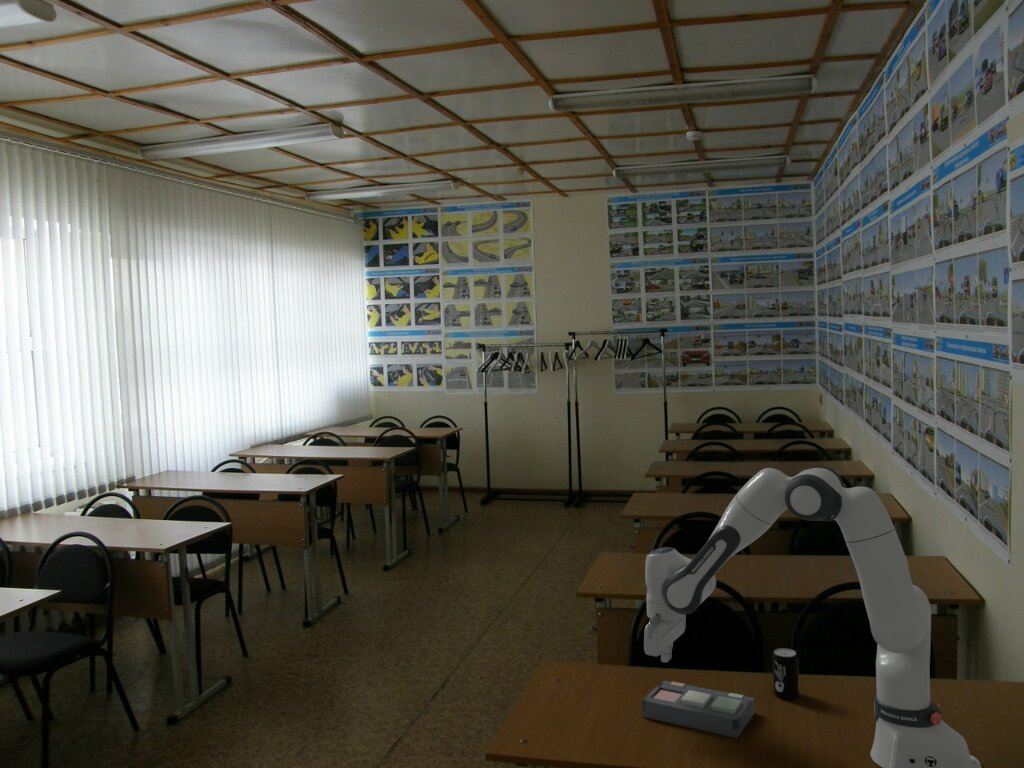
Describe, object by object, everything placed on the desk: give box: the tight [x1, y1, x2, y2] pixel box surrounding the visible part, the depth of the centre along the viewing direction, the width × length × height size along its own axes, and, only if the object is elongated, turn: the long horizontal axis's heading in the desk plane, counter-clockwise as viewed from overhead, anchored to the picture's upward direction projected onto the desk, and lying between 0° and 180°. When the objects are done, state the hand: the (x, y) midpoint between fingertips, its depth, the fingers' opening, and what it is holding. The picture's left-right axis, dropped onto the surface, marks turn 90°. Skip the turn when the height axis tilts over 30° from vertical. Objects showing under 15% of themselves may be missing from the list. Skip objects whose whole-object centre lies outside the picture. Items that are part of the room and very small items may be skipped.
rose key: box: [653, 690, 682, 702], centre depth 218 cm, size 6×6×2 cm
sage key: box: [711, 696, 742, 715], centre depth 209 cm, size 6×6×2 cm
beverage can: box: [772, 647, 800, 701], centre depth 223 cm, size 7×7×12 cm
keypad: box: [641, 680, 756, 739], centre depth 215 cm, size 25×15×4 cm, turn 57°
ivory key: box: [681, 690, 711, 708], centre depth 213 cm, size 6×6×2 cm
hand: (666, 660), depth 217 cm, fingers closed
